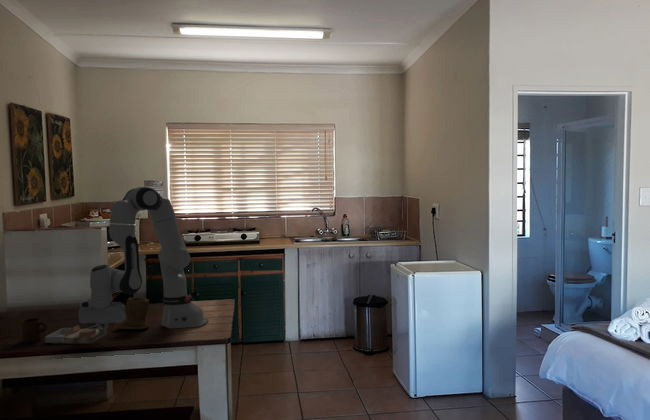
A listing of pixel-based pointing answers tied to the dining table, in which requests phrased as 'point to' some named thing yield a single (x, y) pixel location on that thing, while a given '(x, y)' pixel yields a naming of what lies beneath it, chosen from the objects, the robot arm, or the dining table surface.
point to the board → (76, 339)
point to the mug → (33, 330)
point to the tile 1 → (71, 330)
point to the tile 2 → (87, 332)
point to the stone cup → (135, 314)
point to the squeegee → (93, 326)
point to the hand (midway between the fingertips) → (103, 332)
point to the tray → (56, 336)
